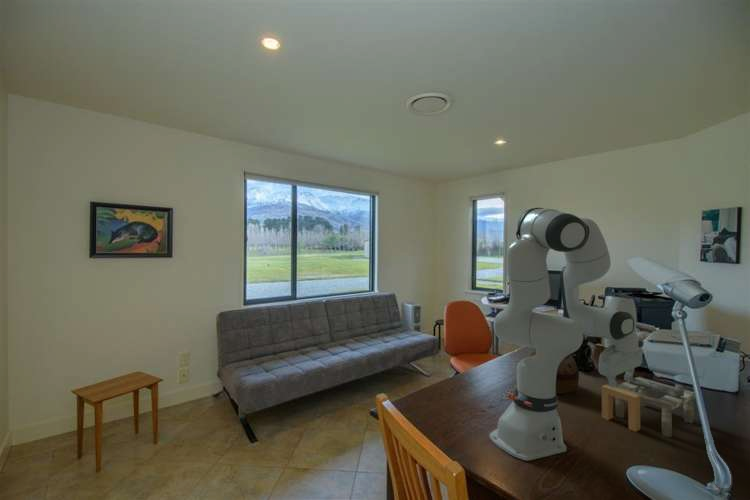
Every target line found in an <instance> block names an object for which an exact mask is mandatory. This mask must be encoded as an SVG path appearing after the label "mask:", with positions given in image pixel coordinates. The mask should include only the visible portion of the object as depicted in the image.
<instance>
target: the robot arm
mask: <svg viewBox="0 0 750 500" xmlns="http://www.w3.org/2000/svg"><path fill="white" fill-rule="evenodd" d="M516 228H517V230H516V233H515V236H516V240H514V241H512V242H511V243H510V244H509V245H508V247H507V254H506V256H507V257H506V269H507V277H508V284H509V300H508V304H507V305H506V306H505V308H504V309H502V310H500V311H499V312H498V313H497V314H496V315H495V317H494V320H493V325H492V326H493V331H494V334H495V335H496V337H497V338H498V339H499V340H501V341H504V342H506V343H509V344H511V345H517V346H523V347H527V348H528V347H529V348H532V349H533V348H534V350H535V349H536V355H535V356H531V357H530V356H527V357H525V358H523V359H521V360H520V361H519V362H518V363H517V365H516V387H515V390H514V393H512V392H510V391H509V392H508V393H507V394H506V395H507V396H506V397H507V398H508V399H509V400H512V402H511V403H510V404H509V406H508V407H507V408H506V410H505V411H504V412H503V413H502V414H501V415H500V417H499V418H498V421H497V422H498V423H497V428H495V429H494V430H492V431H491V432H490V433H489V439H490V441H491V442H492V443H493V444H494V445H495V446H497V447H498V448H500V449H501V450H502V451H504V452H505V453H507V454H508V455H511V456H512V457H515V458H517V459H519V460H523V461H526V462H527V461H533V460H537V459H540V458H541V459H542V458H545V457H549V456H553V455H556V454H561V453H565V452H567V451H568V450H567V445H566V444H565V443H564V438H563V429H562V420H561V418H560V415H559V413H558V410H557V408H558V406H559V405H558V403H559V399H558V393H556V374H557V369H558V366H559V364H560V363H561V361H562V360H563V359H564V358H565V357H566V356H568V355H569V354H571V353H573V352H575V351H576V350H578V349H579V348H580V346H581V344H582V342H583V334H587V335H591V336H596V337H602V338H603V342H604V343H603V344H604V345H603V346H604V349H603V351H601V352H600V355H599V358H598V372H599V374H600V375H601V376H605V377H606V378H607V380H608V385H609V386H610V387H612V388H616V387H617V385H618V381H616V378H617V376H619V375H620V374H623V373H625V374H624V375H623V376H624V377H623V379H624V381H625V382H627V381H632V376H633V377H634V372H635V368H637V367H641V366H642V362H643V347H644V345H645V343H644V342H645V341H644V339H640V338H638V335H637V332H636V327H637V323H638V322H637V320H638V318H637V309H636V304H635V301H634V299H633V298H631V297H629V296H622V295H621V296H620V295H612V294H610V295H609V294H608V295H606V296H605V300H604V305H603V306H602V307H600V306H599V307H597V306H592V305H591V306H590V305H587V304H585V303H582V302H581V300H580V288H579V286H581V285H584V284H587V283H593V282H595V281H597V280H599V279H601V278H602V277H604V276H605V275H606V274H607V273H608V272H609V270H610V268H611V255H610V253H609V252H610V251H609V248H608V245H607V243H606V239H605V237H604V235H603V233H602V231H601V229H600V228H599V225H598V223H596V222H595V221H594V220H592V219H590V218H586V217H585V218H584V217H579V216H577V215H575V214H572V213H566V212H563V211H560V210H557V209H553V208H543V207H534V208H529V209H527V210H525V211H524V212H523V213H521V215H520V216H519V219H518V222H517V227H516ZM550 250H552V251H556V252H562V253H563V255H564V257H565V262H566V265H564V267H562V268H561V271H560V275H559V277H560V279H559V281H560V282H559V283H560V291H561V298H562V299H561V301H562V307H563V310H562V316H561V315H558V314H551V313H550V314H549V313H540V312H534V311H533V309H534V310H535V309H537V308H539V307H541V306H543V305H545V304H546V303H547V302H548V301H549V300H550V298H551V286H550V277H549V270H548V264H547V259H548V258H547V257H548V254H549V251H550Z"/></svg>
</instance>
